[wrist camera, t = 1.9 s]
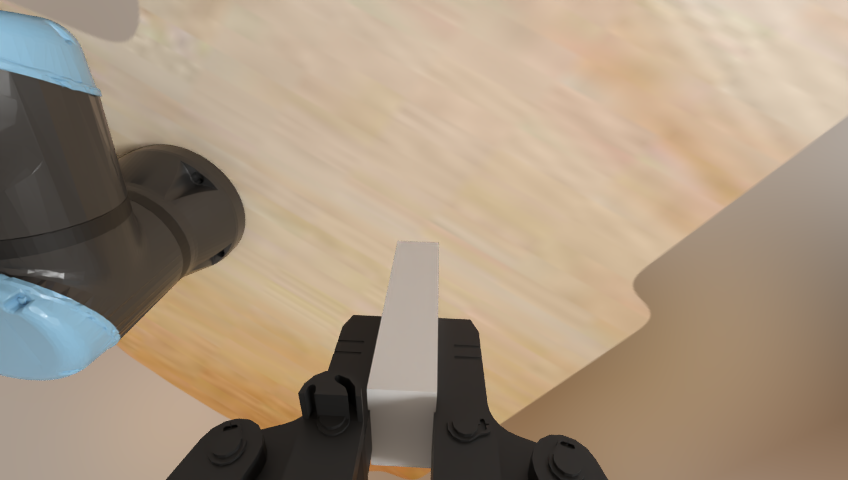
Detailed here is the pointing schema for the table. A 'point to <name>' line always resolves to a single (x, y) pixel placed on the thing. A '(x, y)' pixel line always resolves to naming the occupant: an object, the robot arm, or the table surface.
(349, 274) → the table surface
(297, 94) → the table surface
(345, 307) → the table surface
